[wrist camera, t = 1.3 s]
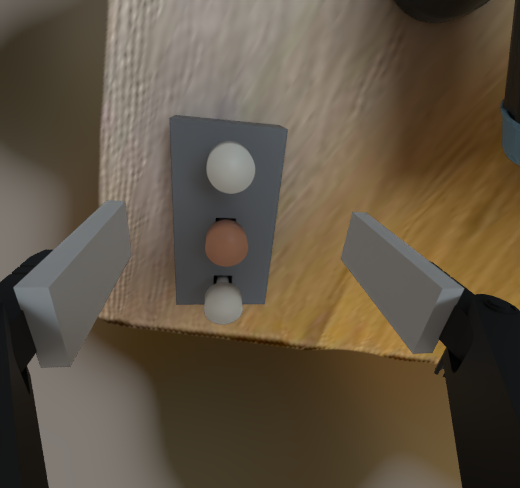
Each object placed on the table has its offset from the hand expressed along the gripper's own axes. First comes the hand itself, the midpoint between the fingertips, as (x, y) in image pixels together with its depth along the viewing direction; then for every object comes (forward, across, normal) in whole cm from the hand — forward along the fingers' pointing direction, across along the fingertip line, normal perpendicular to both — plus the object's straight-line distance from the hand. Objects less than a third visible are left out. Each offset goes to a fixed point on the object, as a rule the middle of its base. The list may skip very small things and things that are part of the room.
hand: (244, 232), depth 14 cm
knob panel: (+24, 0, -8) cm, 25 cm away
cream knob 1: (+21, 0, 0) cm, 21 cm away
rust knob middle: (+21, 0, -8) cm, 22 cm away
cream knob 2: (+21, 0, -16) cm, 26 cm away
